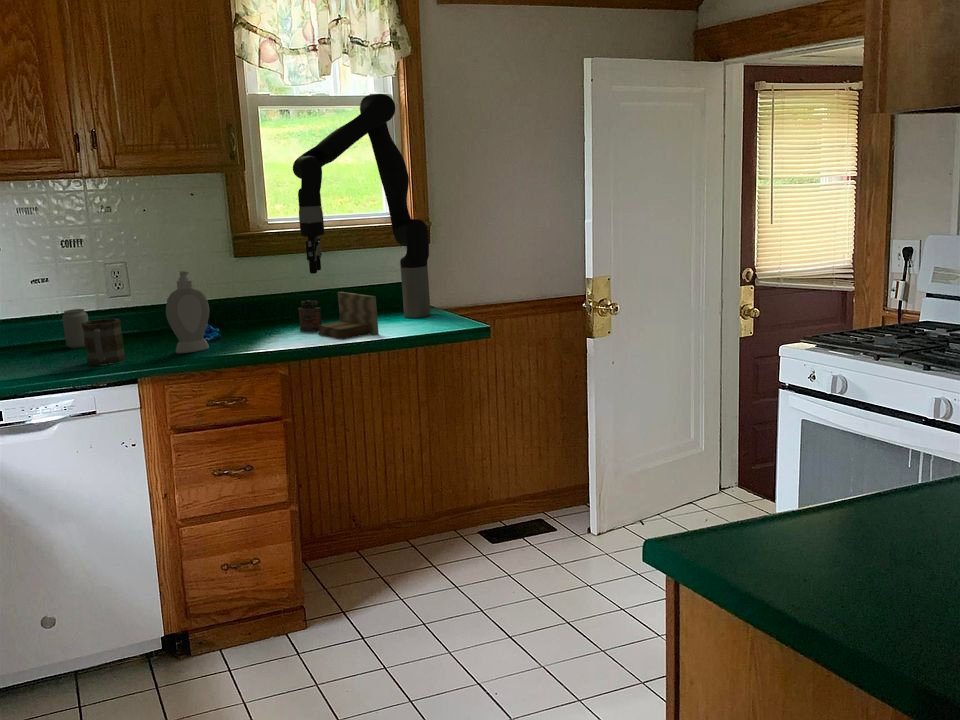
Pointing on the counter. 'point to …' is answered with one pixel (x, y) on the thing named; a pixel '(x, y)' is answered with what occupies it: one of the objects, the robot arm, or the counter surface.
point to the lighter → (309, 316)
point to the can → (74, 327)
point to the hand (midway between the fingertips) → (315, 271)
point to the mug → (103, 341)
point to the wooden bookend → (353, 317)
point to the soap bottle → (188, 315)
